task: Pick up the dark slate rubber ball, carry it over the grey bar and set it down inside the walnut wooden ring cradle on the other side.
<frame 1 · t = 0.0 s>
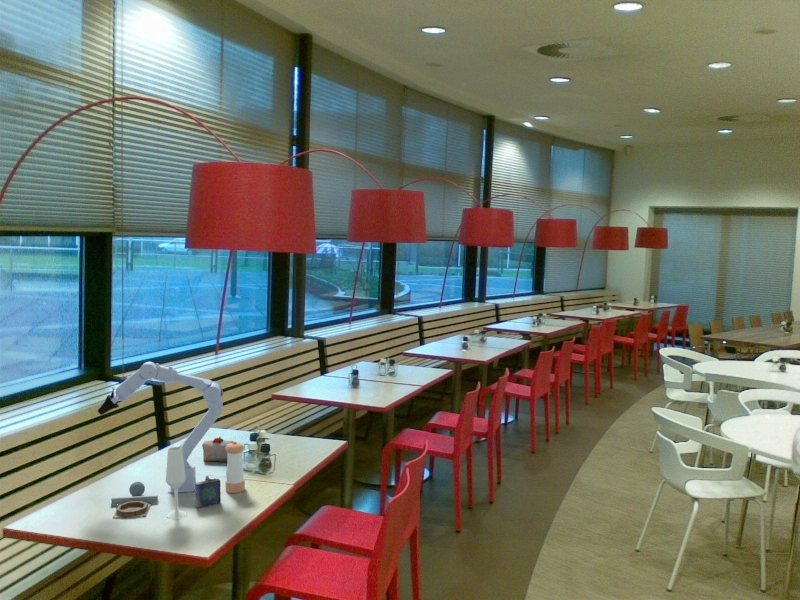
hand: (101, 410, 267), 32 cm above the table, tool tilted 50°, fingers open, 7 cm apart
grey bar: (134, 503, 260), on the table
flask: (208, 505, 260), on the table
champagne flute: (176, 515, 250), on the table
pepper shaker: (235, 490, 275), on the table
food item: (218, 460, 311), on the table
ring cradle: (132, 511, 253), on the table
ball: (137, 489, 267), point 3 cm above the table
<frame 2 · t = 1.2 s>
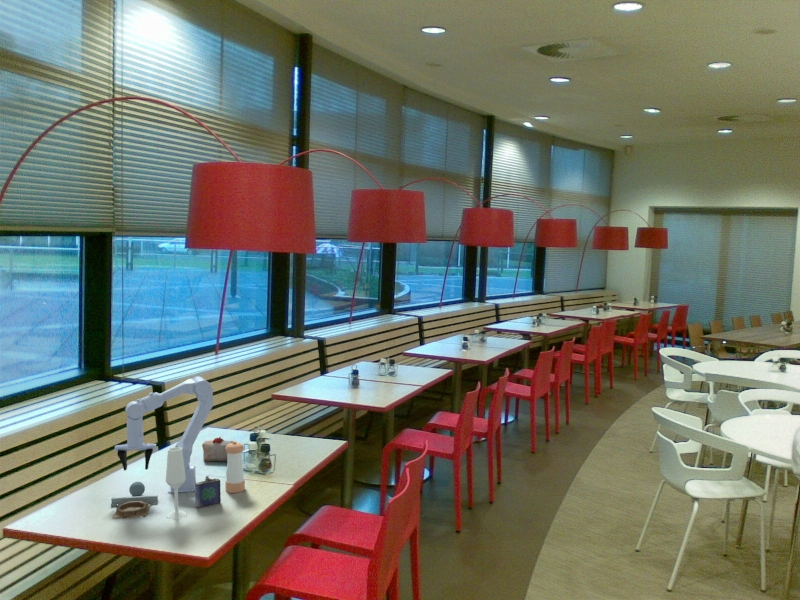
hand: (136, 469, 267), 10 cm above the table, tool pointing down, fingers open, 7 cm apart
nothing on the table moved.
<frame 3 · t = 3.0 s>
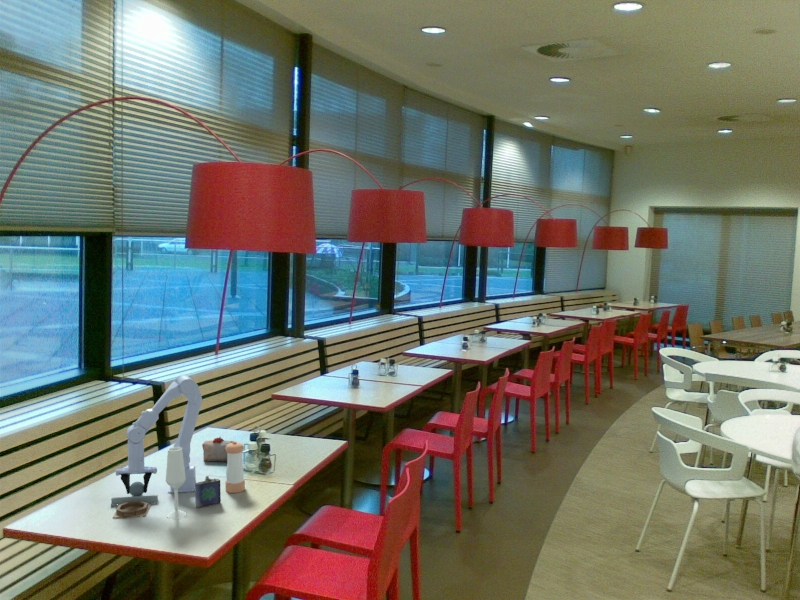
hand: (137, 492, 268), 1 cm above the table, tool pointing down, fingers closed on ball, 5 cm apart
ball: (137, 489, 267), point 3 cm above the table, touching gripper
everything else where it was.
when the fingers open (3 cm above the table, at t = 7.7 s): ball drops 1 cm, resting on ring cradle.
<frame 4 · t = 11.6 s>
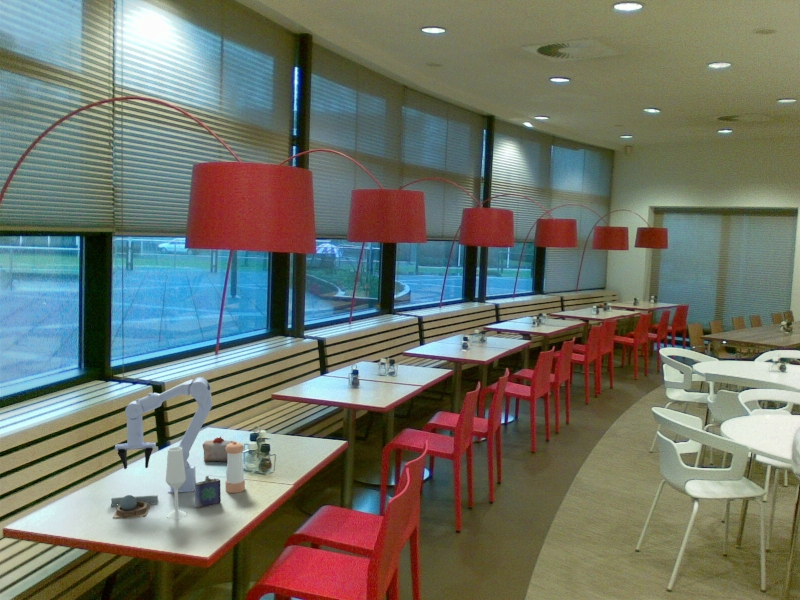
hand: (136, 467, 272), 9 cm above the table, tool pointing down, fingers open, 7 cm apart
ball: (128, 503, 253), point 3 cm above the table, tilted 26°, touching ring cradle
everything else where it was.
at the end: ball 1.2 cm off-centre on the ring cradle, point 3.1 cm above the ring cradle's base; the gripper is holding nothing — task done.
